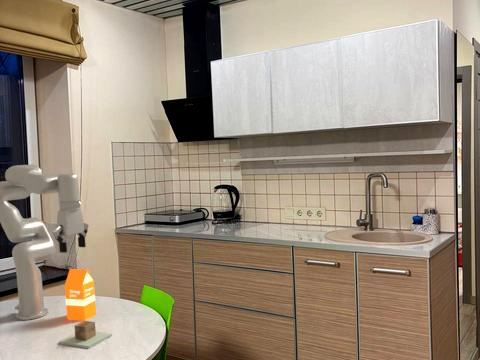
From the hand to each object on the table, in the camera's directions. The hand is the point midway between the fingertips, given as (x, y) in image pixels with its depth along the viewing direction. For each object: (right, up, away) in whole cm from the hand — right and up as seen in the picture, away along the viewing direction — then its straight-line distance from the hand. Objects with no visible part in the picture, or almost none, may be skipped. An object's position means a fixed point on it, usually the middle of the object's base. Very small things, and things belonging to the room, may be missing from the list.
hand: (73, 249), depth 188 cm
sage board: (+9, -31, -13) cm, 34 cm away
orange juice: (-1, -30, +13) cm, 33 cm away
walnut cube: (+9, -30, -13) cm, 34 cm away
